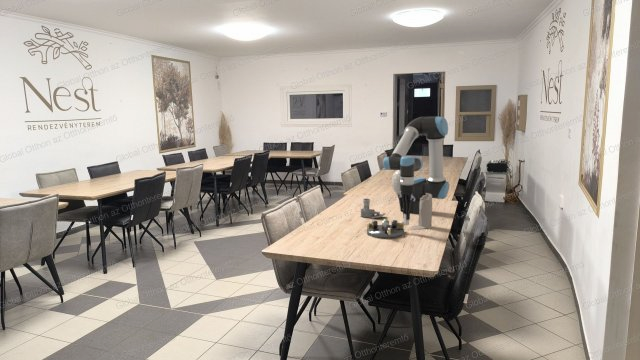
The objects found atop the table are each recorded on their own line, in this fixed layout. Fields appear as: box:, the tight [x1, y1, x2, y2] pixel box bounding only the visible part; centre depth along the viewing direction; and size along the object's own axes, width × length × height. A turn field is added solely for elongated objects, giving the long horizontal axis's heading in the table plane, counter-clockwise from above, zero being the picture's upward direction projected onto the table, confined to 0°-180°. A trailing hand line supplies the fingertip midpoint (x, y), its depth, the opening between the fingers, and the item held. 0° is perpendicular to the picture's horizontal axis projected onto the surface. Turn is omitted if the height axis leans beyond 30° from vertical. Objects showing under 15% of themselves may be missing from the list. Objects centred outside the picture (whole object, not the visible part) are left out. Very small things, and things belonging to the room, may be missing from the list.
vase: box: [391, 170, 401, 195], centre depth 345 cm, size 16×16×22 cm
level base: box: [366, 218, 405, 240], centre depth 238 cm, size 21×21×8 cm
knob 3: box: [391, 219, 405, 229], centre depth 240 cm, size 8×3×4 cm, turn 48°
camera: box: [360, 198, 386, 219], centre depth 273 cm, size 9×12×15 cm
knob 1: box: [366, 220, 379, 230], centre depth 239 cm, size 8×3×4 cm, turn 133°
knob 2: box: [385, 224, 391, 235], centre depth 229 cm, size 8×3×4 cm, turn 1°
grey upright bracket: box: [409, 193, 433, 230], centre depth 247 cm, size 7×14×20 cm, turn 112°
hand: (406, 224), depth 238 cm, fingers closed
